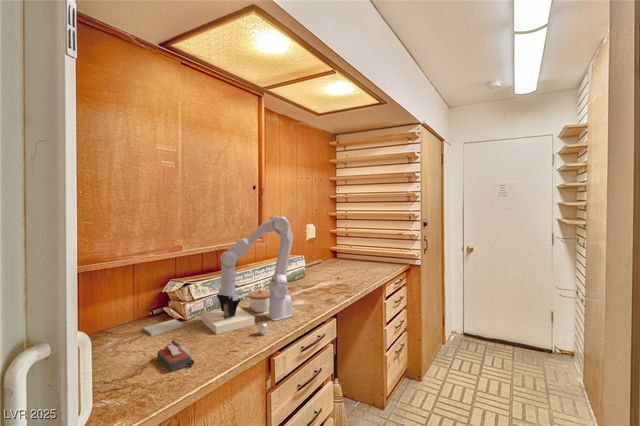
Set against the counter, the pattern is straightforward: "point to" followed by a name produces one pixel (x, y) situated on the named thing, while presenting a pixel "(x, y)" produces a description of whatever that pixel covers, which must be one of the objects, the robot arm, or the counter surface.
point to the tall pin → (226, 311)
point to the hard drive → (162, 327)
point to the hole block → (227, 321)
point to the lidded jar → (259, 300)
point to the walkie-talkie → (175, 357)
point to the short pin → (262, 328)
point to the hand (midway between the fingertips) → (228, 313)
